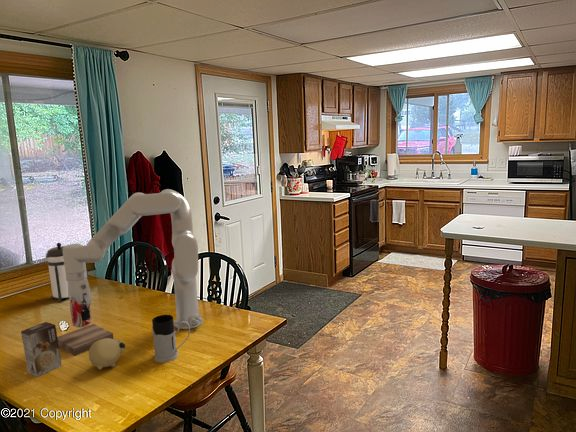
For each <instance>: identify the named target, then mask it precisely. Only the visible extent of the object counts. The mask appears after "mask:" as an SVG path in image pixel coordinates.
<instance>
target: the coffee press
mask: <svg viewBox="0 0 576 432" xmlns="http://www.w3.org/2000/svg"><path fill="white" fill-rule="evenodd" d="M64 246H65V245H63V246H62V243H61V242H57V243H56V247H52V248H50V249H48V250H47V252H46V254H45V257H44V262H47V266H48V272H49V279H50V285H51V287H50V288H51V292H52V294H51V296H50V298H51V299H57V302H58V303H62V302H63V299H65V298H69V295H68V281H66V274H65V266H64V258H63V247H64ZM86 271H87V279H88V278H89V274H88V273H89V271H88V267H87V263H86Z"/></svg>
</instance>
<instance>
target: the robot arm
mask: <svg viewBox="0 0 576 432" xmlns="http://www.w3.org/2000/svg"><path fill="white" fill-rule="evenodd" d="M163 214H164V215H165V214H170V218H171V232H172V233H171V244H172V247H173V253H174V254H173V255H174V256H173V257H174V258H173V259H172V261H171V273H172V278H173V280H172V281H173V286H174V287H173V289H174V299H175V313H176V319H175V320H173V321H174V328H176V329H178V324H179V323H180V322H182V321H185V322H187V323H188V324H189V325H190V330H191V329H194V328H197V327H199V326H201V325H202V324H203V322H204V319H203V317H202V316H201V314H200V312H199V311H200V310H199V297H198V286H197V285H198V284H197V276H198V272H199V246H198V241H197V238H196V237H195V235H194V228H193V225H194V224H193V217H192V215H193V214H192V209H191V206H190V204H189V202H188V200H187V199H186V198H185V197H184V196H183V195H182V194H180V193H179V192H178V191H176V190H173V189H170V188H166V189H163V190H161V192H158V193H157V192H156V193H143V192H134V193H132V195H131V196H129V198H128V199H127V200H126V201H125V202H124V203H123V204H122V205H121V206H120V207H119V209H117V210H116V212H115V213H113V215H112V216H111V217H110V218H109V219H108V220H107V221H106V223H105V224H104V225H102V227H101V228H100V229H99V230H98V231H97V232H96V234H94V235H93V236H92V238H91V239H90V240H89V241H88V242H87V244H86V245H83V244H81V243H71V244H67V245H63V246H64V247H63V258H64V266H65V274H66V281H68V295H69V297H68V298H69V302H70V301H71V298H72V299H75V300H76V302H77V303H78V304H79V305H80V307H81V310H82V311H81V317H82V321H85V320H88V319H90V311H91V302H92V293H91V290H90V283H89V280H88V278H87V272H88V270H87V271H86V264H87V263H91V264H92V263H93V264H95V263H99V262H101V261H102V260H103V259H104V258H105V254H106V251H107V250H108V248H110V246H112V244H113V243H114V242H115V241H116V240H117V239H118V238H120V237H122V236H123V235H125V234H127V232H129V231H130V230H131V228H133V226H135V224H136V223H137V222H138V221H139V219H141V218H142V217H144V216H145V217H146V216H154V215H155V216H156V215H163ZM83 301H85V303H82V302H83ZM84 304H85V306H84V308H83V305H84ZM179 330H189V327H188V325H187V324H186V323H181V324H180V325H179Z"/></svg>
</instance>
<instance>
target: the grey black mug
mask: <svg viewBox="0 0 576 432" xmlns="http://www.w3.org/2000/svg"><path fill="white" fill-rule="evenodd" d="M174 321H175V320H174V316H173V315H170V314H160V315H157V316H155V317H153V318H152V320H151V322H152V327H151V328H152V336H153V337H152V338H153V339H152V340H153V347H154V357H153V359H154V361H155V362H157V363H168V362H172V361H174V360H176V359H177V358H178V356H179V353H178V349H180V348H181V347H182V346H183V345H184V344H185V343H186V341H188V339H189V337H190V333H191V329H190V325H189V324H188V323H187V322H185V321H182V322H180V323H179V324H178V328H177V331H176V330H175V327H174ZM181 323H186V324H187V325H188V327H189V329H188V333H187V337H186V338H185V340H184V341H183V342H182V343H181V344H179V345H178V347H177V339H176V338H177V337H176V334H177V333H178V332H180V329H179V325H180V324H181Z"/></svg>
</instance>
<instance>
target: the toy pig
mask: <svg viewBox="0 0 576 432" xmlns="http://www.w3.org/2000/svg"><path fill="white" fill-rule="evenodd" d="M125 349H126V344H125V343H124V341H122V340H121V339H117V338H114V339H111V338H105V339H101V340H98V341H96V342H95V343H94V344H93V345H92V346H91V347H90V350H88V359H89V361H90V363H91V365H92V366H95V367H96V368H97V369H98V370H102V369H103V368H108V367H111V368H115V366H116V362H118V360H119V358H120V356H121V355H122V354H123V353H124V351H125Z"/></svg>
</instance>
